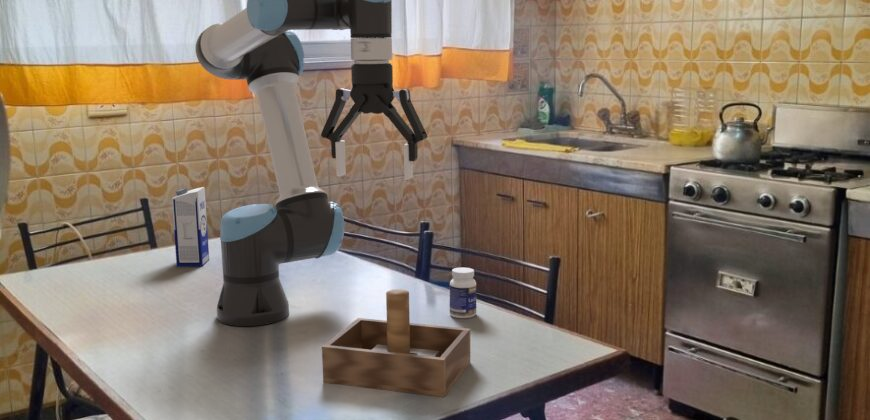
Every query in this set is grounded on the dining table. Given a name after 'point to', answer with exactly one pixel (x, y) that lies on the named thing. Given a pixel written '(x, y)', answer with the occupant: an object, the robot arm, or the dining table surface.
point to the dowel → (398, 321)
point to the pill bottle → (463, 293)
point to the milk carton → (190, 227)
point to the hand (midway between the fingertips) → (374, 177)
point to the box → (397, 358)
